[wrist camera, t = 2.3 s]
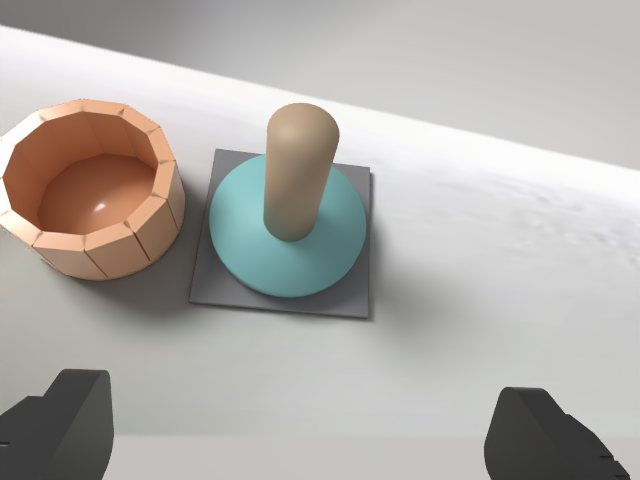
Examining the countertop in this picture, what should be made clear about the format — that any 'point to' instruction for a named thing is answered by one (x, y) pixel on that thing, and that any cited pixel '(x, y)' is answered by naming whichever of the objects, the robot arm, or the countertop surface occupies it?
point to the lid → (289, 209)
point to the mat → (226, 290)
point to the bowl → (91, 189)
